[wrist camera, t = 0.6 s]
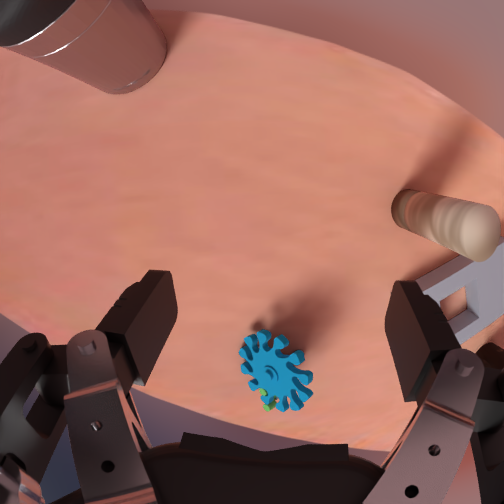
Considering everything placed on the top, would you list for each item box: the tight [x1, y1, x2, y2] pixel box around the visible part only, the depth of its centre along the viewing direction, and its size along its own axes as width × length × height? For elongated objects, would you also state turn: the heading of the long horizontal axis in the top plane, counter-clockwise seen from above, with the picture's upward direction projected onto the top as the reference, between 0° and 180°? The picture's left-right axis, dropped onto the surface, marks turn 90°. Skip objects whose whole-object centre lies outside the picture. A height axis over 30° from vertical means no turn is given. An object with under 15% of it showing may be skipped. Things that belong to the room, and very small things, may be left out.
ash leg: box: [391, 190, 501, 262], centre depth 25 cm, size 4×4×13 cm
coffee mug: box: [475, 343, 504, 370], centre depth 32 cm, size 12×9×10 cm
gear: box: [239, 329, 313, 412], centre depth 33 cm, size 11×6×10 cm
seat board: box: [391, 236, 504, 344], centre depth 32 cm, size 11×18×3 cm, turn 114°
